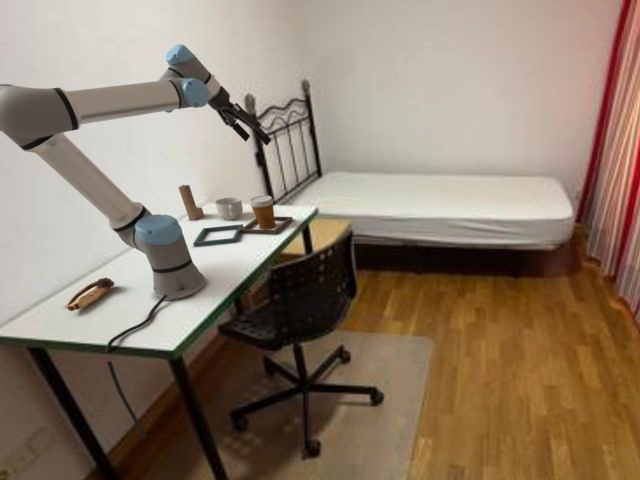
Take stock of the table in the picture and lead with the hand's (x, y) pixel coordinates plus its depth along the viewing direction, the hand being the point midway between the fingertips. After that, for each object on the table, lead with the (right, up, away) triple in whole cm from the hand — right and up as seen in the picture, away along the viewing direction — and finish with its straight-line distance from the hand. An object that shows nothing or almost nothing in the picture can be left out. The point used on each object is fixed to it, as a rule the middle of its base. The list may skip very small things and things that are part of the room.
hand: (258, 140), depth 165 cm
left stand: (-22, -32, +18) cm, 43 cm away
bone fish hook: (-46, -59, -22) cm, 78 cm away
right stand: (-5, -27, +25) cm, 37 cm away
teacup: (-24, -21, +36) cm, 48 cm away
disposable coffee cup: (-5, -27, +25) cm, 37 cm away
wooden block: (-42, -20, +39) cm, 61 cm away
